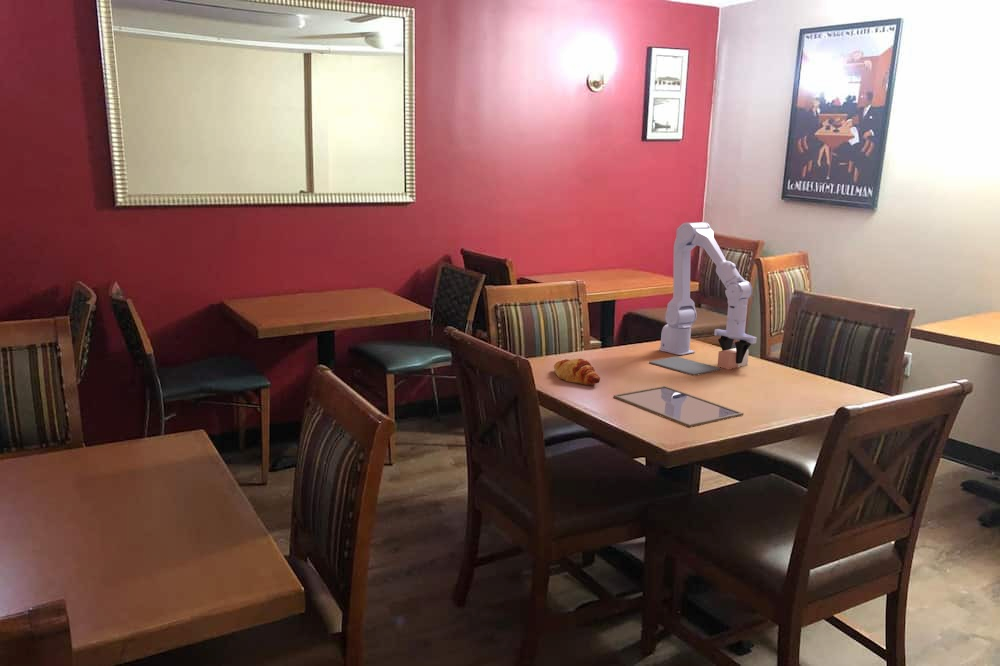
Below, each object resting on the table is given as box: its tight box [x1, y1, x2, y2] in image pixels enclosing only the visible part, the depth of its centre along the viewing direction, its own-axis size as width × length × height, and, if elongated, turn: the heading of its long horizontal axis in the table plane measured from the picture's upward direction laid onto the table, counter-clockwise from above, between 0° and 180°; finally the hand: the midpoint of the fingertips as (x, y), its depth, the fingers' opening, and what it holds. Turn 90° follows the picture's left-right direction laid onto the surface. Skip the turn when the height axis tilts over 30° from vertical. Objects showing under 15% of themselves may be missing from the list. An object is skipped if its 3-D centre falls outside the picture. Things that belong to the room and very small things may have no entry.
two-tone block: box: [716, 347, 750, 370], centre depth 246 cm, size 4×10×5 cm, turn 127°
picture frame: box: [612, 385, 744, 428], centre depth 204 cm, size 19×1×28 cm
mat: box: [648, 355, 722, 376], centre depth 245 cm, size 18×13×1 cm
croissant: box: [553, 357, 601, 386], centre depth 228 cm, size 21×10×8 cm, turn 32°
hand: (732, 361), depth 246 cm, fingers closed on two-tone block, 4 cm apart
